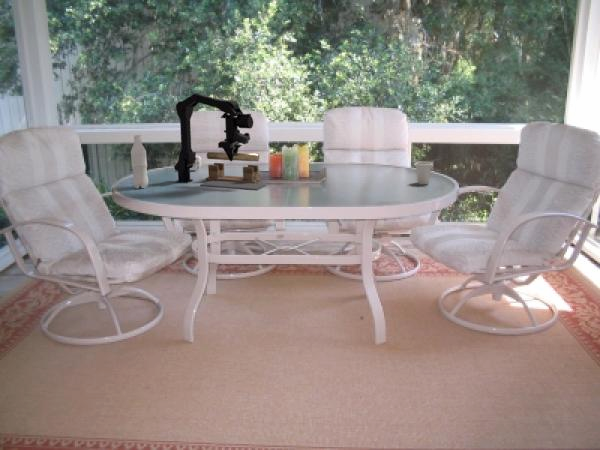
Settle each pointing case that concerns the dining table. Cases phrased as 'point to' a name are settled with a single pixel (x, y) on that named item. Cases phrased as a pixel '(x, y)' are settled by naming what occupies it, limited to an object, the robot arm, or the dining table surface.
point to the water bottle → (139, 163)
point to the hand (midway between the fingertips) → (232, 160)
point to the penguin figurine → (197, 163)
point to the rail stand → (248, 176)
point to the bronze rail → (235, 156)
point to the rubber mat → (234, 185)
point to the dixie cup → (423, 172)
